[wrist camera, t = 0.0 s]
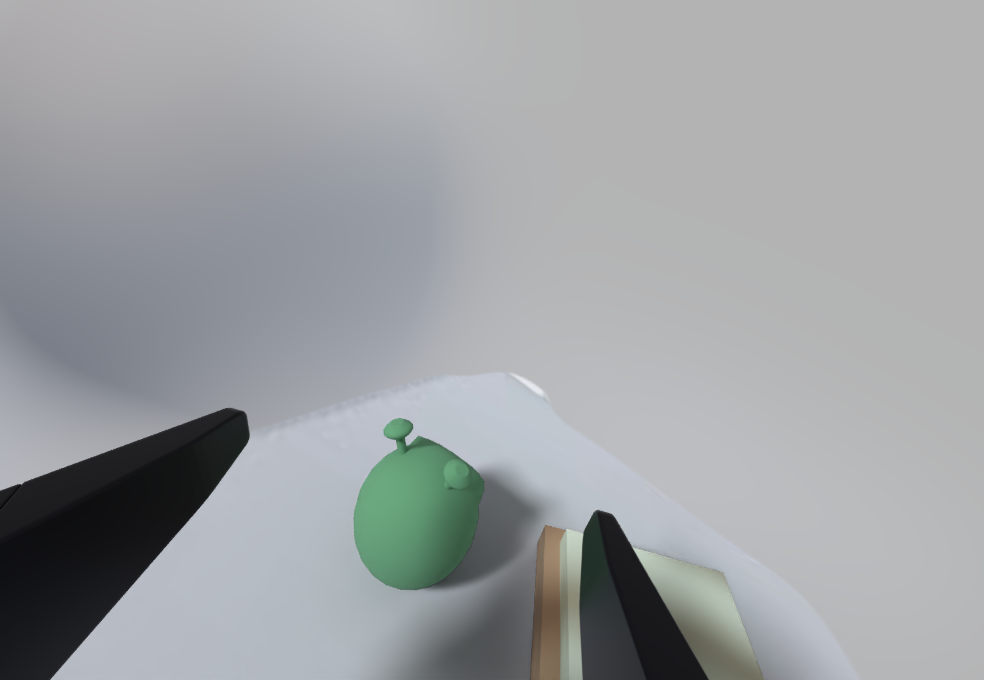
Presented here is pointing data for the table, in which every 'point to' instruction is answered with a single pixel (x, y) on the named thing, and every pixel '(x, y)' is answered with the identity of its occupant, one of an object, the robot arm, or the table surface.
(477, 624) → the table surface
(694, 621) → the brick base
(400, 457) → the alien toy
